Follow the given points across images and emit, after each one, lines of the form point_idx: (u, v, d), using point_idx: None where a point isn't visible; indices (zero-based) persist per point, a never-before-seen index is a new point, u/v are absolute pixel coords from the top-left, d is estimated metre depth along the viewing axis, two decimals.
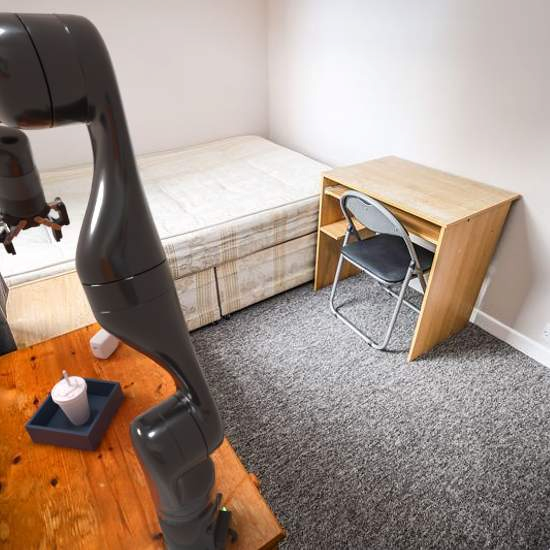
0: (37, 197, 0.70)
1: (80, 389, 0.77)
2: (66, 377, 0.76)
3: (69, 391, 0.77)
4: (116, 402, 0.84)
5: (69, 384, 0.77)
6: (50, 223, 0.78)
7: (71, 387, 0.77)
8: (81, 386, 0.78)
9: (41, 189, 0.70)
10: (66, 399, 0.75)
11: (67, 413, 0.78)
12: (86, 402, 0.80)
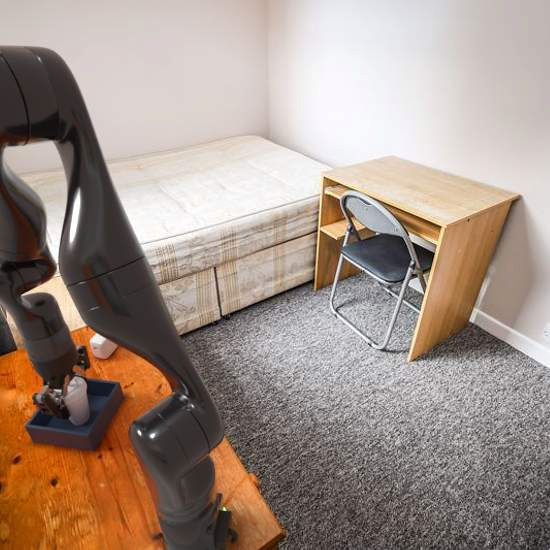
0: (74, 343, 0.72)
1: (80, 389, 0.77)
2: None
3: (69, 391, 0.77)
4: (116, 402, 0.84)
5: (69, 384, 0.77)
6: (81, 370, 0.78)
7: (71, 387, 0.77)
8: (81, 386, 0.78)
9: None
10: (66, 399, 0.75)
11: None
12: (86, 402, 0.80)
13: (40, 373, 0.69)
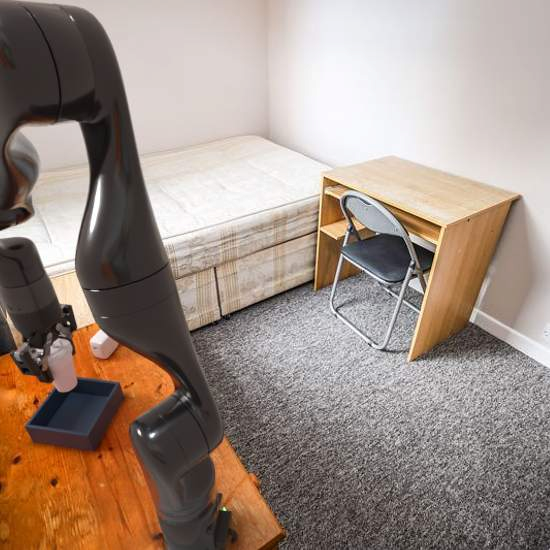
0: (56, 297, 0.66)
1: (65, 351, 0.71)
2: None
3: (53, 352, 0.70)
4: (116, 402, 0.84)
5: (53, 345, 0.71)
6: (66, 330, 0.72)
7: (55, 348, 0.71)
8: (66, 348, 0.71)
9: None
10: (49, 360, 0.69)
11: None
12: (72, 366, 0.73)
13: (19, 328, 0.63)
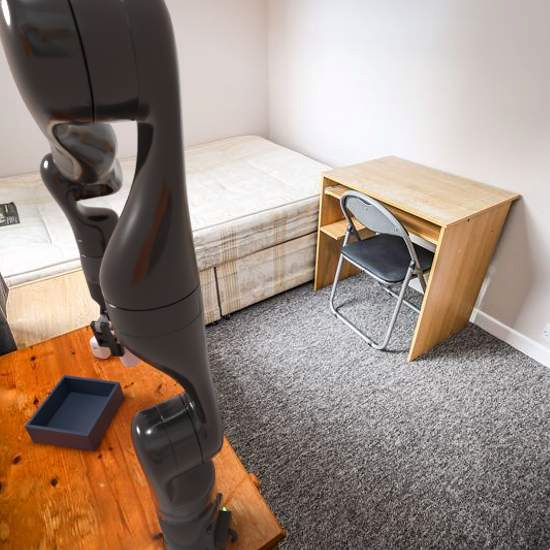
0: None
1: None
2: None
3: None
4: (116, 402, 0.84)
5: None
6: None
7: None
8: None
9: None
10: None
11: None
12: None
13: (98, 299, 0.64)
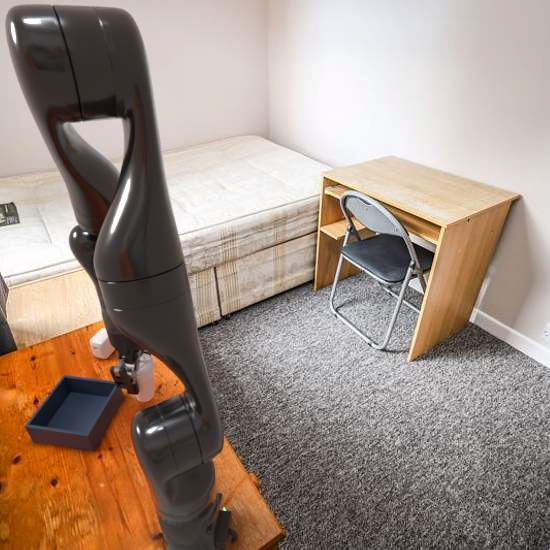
0: None
1: (149, 365, 0.78)
2: None
3: None
4: (116, 402, 0.84)
5: None
6: None
7: (140, 363, 0.78)
8: (149, 362, 0.78)
9: None
10: (137, 374, 0.76)
11: None
12: (153, 378, 0.80)
13: (117, 346, 0.70)
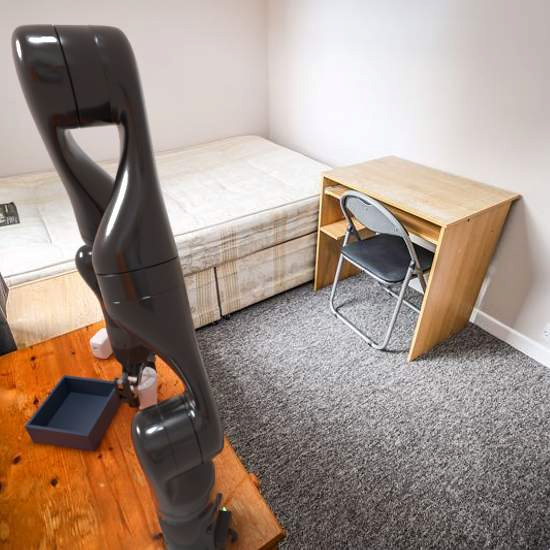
0: None
1: (152, 379, 0.80)
2: None
3: (142, 380, 0.80)
4: (116, 402, 0.84)
5: (142, 374, 0.80)
6: (152, 357, 0.81)
7: (144, 377, 0.80)
8: (153, 376, 0.81)
9: None
10: (141, 388, 0.78)
11: None
12: (156, 392, 0.83)
13: (121, 360, 0.72)
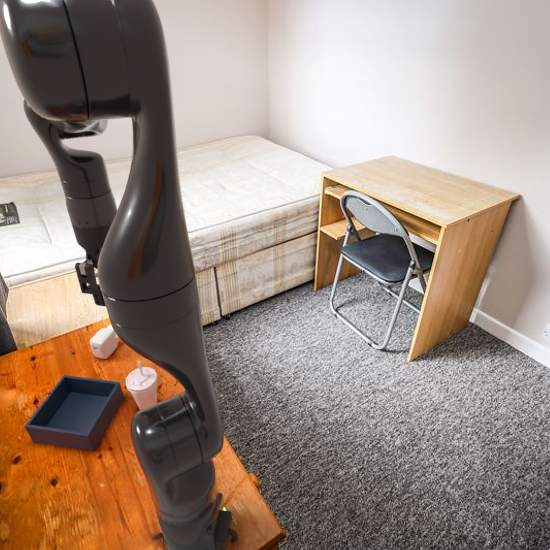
0: None
1: (152, 379, 0.80)
2: (140, 367, 0.79)
3: (142, 380, 0.80)
4: (116, 402, 0.84)
5: (142, 374, 0.80)
6: None
7: (144, 377, 0.80)
8: (153, 376, 0.81)
9: None
10: (141, 388, 0.78)
11: (139, 402, 0.81)
12: (156, 392, 0.83)
13: (84, 244, 0.64)
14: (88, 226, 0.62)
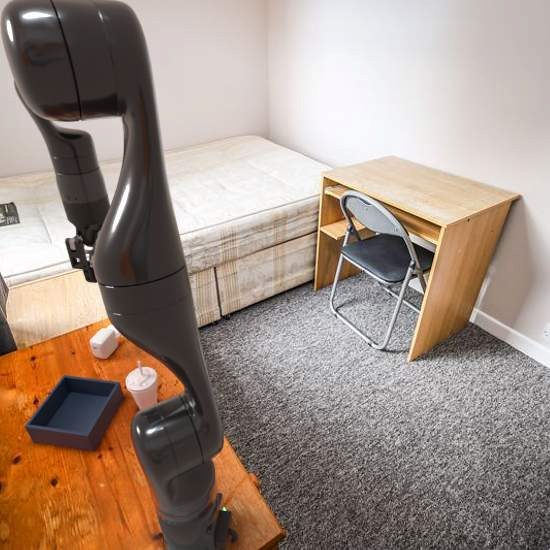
0: (107, 195, 0.69)
1: (152, 379, 0.80)
2: (140, 367, 0.79)
3: (142, 380, 0.80)
4: (116, 402, 0.84)
5: (142, 374, 0.80)
6: None
7: (144, 377, 0.80)
8: (153, 376, 0.81)
9: None
10: (141, 388, 0.78)
11: (139, 402, 0.81)
12: (156, 392, 0.83)
13: (74, 220, 0.67)
14: (77, 202, 0.65)
